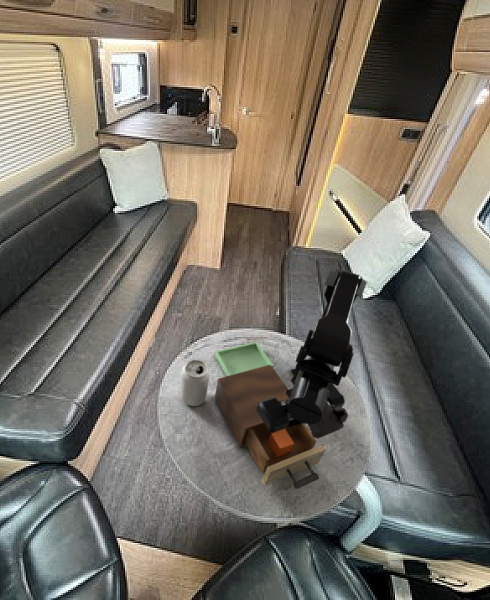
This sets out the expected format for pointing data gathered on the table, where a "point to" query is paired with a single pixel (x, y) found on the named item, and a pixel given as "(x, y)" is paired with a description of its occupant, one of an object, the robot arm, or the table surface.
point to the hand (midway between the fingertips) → (291, 427)
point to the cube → (280, 443)
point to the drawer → (287, 463)
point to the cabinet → (247, 398)
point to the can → (194, 382)
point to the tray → (242, 358)
